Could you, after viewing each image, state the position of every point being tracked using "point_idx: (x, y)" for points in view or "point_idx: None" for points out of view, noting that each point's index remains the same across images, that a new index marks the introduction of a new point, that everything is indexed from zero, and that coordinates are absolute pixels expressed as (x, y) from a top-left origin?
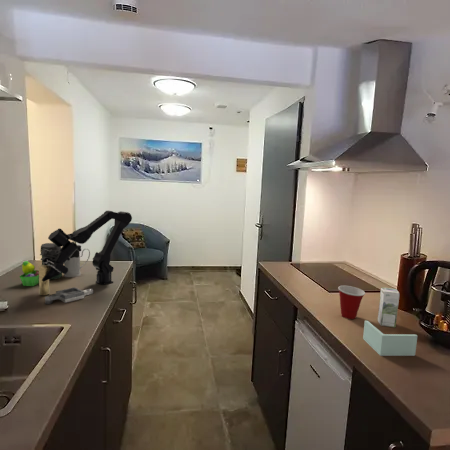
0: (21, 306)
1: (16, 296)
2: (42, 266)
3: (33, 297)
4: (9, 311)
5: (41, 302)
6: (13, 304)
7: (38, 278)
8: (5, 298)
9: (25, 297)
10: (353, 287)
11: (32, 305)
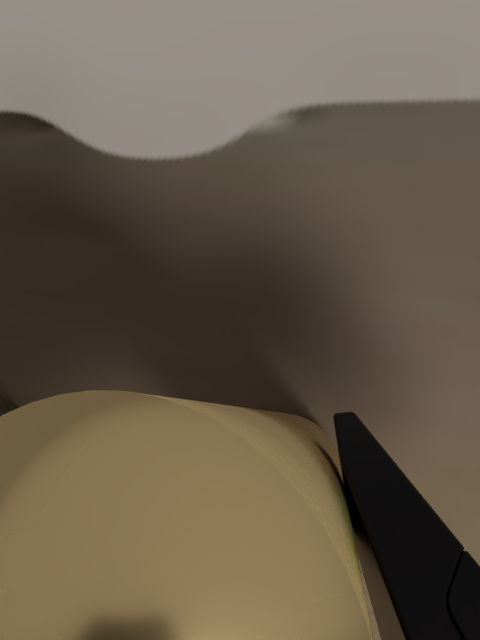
0: (63, 217)
1: (381, 199)
2: (44, 590)
3: (249, 342)
4: (14, 138)
5: (56, 378)
6: (150, 166)
7: (339, 415)
8: (367, 109)
9: (295, 272)
10: None
11: (31, 296)
